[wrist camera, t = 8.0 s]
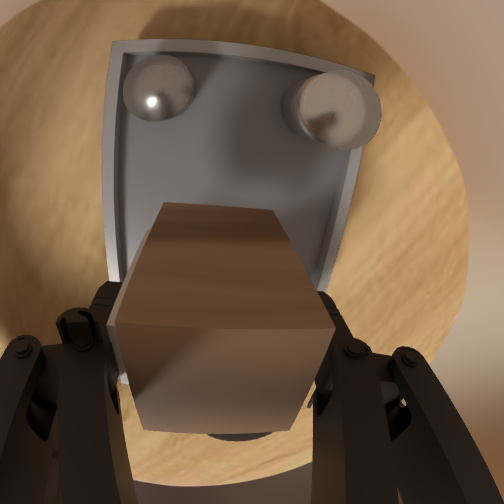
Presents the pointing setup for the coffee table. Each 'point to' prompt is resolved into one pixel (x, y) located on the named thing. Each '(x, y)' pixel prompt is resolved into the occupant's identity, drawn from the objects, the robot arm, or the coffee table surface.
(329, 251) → the grey tray with handle
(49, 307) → the coffee table surface
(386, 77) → the coffee table surface
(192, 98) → the silver metal dome
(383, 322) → the coffee table surface
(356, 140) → the silver rounded piece
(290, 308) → the walnut block
